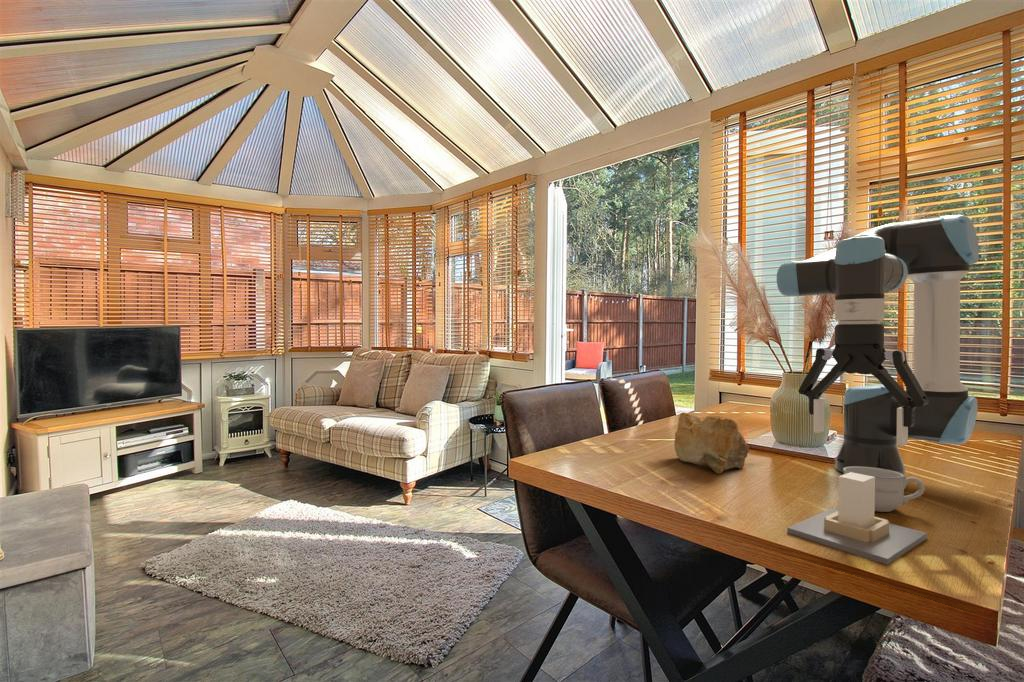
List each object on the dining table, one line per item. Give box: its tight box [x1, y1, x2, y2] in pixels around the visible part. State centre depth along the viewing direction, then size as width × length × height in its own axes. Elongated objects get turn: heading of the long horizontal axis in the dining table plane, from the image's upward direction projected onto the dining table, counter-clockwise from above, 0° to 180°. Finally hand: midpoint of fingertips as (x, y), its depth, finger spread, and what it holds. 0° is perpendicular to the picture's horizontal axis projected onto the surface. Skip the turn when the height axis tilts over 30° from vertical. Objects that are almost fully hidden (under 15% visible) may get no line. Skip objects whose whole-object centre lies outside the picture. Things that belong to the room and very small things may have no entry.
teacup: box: [843, 466, 926, 513], centre depth 109 cm, size 14×11×8 cm
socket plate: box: [786, 507, 928, 566], centre depth 95 cm, size 18×16×3 cm
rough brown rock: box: [674, 412, 750, 474], centre depth 143 cm, size 23×17×15 cm
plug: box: [837, 472, 876, 529], centre depth 95 cm, size 5×4×10 cm
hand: (858, 438), depth 95 cm, fingers open, 13 cm apart
